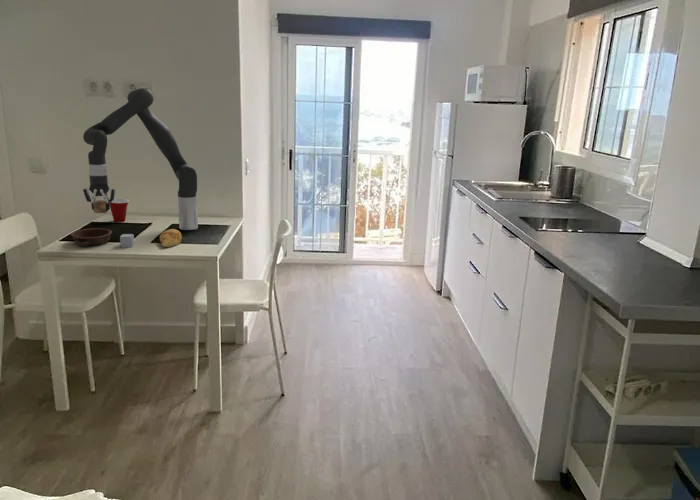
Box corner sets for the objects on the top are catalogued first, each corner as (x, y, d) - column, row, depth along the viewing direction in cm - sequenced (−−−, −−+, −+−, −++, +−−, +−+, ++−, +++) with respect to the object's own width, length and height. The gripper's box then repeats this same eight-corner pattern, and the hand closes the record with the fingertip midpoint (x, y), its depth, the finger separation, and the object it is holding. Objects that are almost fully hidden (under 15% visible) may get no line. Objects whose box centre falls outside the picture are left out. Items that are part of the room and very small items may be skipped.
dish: (61, 247, 252) (60, 237, 250) (86, 236, 273) (85, 226, 272) (98, 249, 251) (97, 239, 250) (121, 237, 272) (120, 227, 271)
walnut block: (108, 210, 262) (107, 200, 260) (105, 213, 257) (104, 202, 256) (96, 210, 261) (96, 200, 259) (94, 213, 256) (93, 202, 255)
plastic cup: (123, 223, 299) (121, 201, 296) (105, 222, 301) (103, 200, 298) (134, 219, 309) (133, 198, 306) (117, 218, 311) (115, 197, 308)
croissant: (171, 256, 257) (178, 241, 255) (151, 246, 255) (158, 231, 253) (182, 243, 277) (189, 230, 275) (164, 233, 276) (171, 220, 274)
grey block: (134, 244, 261) (133, 234, 260) (132, 247, 256) (131, 236, 255) (123, 244, 260) (122, 234, 259) (120, 247, 255) (119, 236, 254)
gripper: (116, 173, 259) (119, 209, 264) (83, 172, 256) (86, 208, 261) (112, 175, 252) (115, 212, 256) (79, 175, 249) (82, 212, 254)
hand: (101, 210), depth 259 cm, fingers closed on walnut block, 5 cm apart
